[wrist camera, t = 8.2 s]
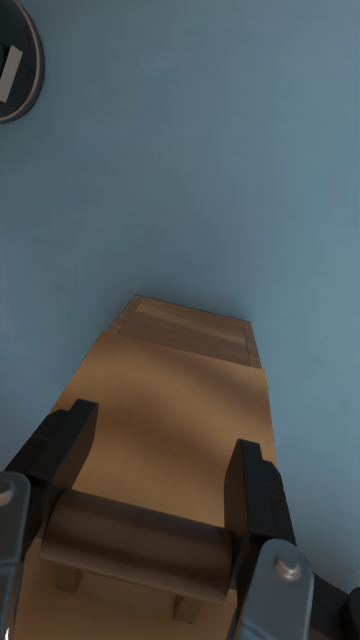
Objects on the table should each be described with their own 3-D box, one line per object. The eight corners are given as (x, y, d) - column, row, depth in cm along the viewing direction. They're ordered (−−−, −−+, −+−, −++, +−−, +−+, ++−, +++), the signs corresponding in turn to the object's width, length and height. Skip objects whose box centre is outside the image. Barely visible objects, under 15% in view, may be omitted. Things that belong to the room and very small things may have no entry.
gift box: (212, 445, 39) (210, 523, 30) (114, 421, 39) (81, 490, 30) (251, 322, 33) (263, 371, 24) (135, 294, 34) (103, 332, 24)
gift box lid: (300, 753, 10) (393, 712, 7) (-91, 648, 10) (-147, 568, 7) (262, 378, 24) (287, 317, 21) (101, 339, 24) (106, 274, 21)
